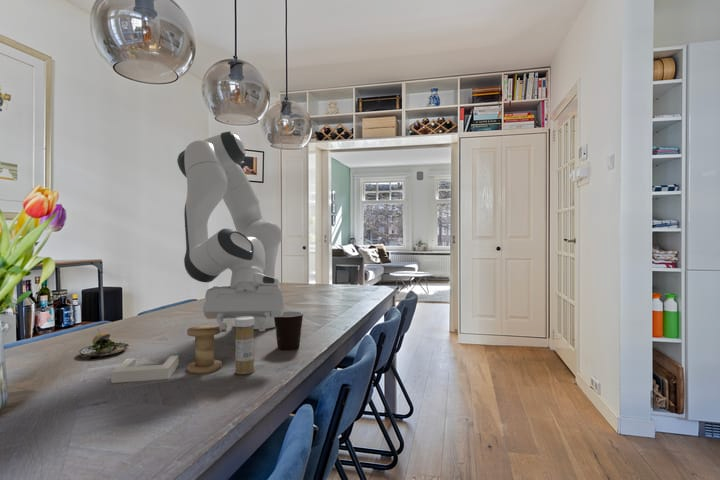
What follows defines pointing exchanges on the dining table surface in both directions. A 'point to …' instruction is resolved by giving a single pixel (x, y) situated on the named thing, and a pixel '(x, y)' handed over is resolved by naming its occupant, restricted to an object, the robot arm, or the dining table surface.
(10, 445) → the dining table surface
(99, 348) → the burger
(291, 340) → the dark brown cup
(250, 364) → the sprinkles bottle
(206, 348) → the oak spool
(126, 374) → the notched board
